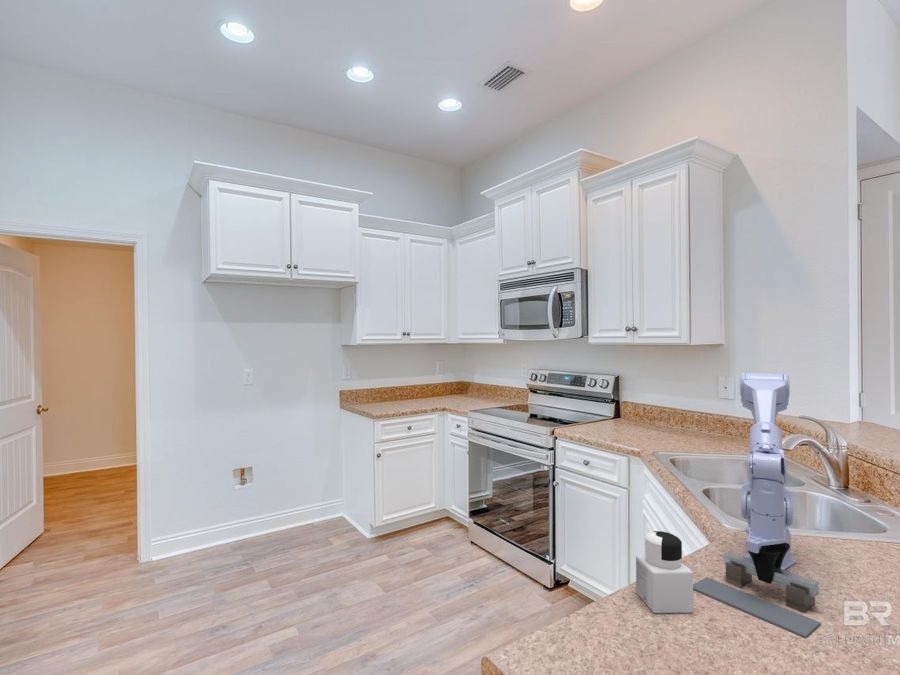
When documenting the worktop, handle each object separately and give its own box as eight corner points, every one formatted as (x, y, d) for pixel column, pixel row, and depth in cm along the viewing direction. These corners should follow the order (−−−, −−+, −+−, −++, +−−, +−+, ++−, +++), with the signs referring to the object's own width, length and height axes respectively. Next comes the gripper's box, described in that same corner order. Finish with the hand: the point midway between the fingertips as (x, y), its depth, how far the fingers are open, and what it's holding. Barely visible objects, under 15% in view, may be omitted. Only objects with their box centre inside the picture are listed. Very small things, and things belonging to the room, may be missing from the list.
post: (796, 598, 91) (796, 577, 92) (814, 604, 89) (814, 584, 89) (786, 605, 89) (786, 584, 89) (805, 613, 86) (804, 591, 86)
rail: (729, 561, 101) (728, 551, 101) (818, 593, 88) (818, 581, 88) (723, 564, 99) (723, 554, 99) (813, 597, 86) (813, 585, 86)
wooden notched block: (736, 575, 100) (736, 557, 101) (752, 581, 98) (751, 562, 98) (725, 581, 98) (725, 562, 98) (741, 588, 95) (740, 568, 95)
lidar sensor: (672, 591, 94) (672, 527, 94) (694, 613, 86) (693, 543, 86) (635, 592, 93) (635, 527, 94) (653, 614, 86) (653, 543, 86)
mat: (706, 578, 99) (706, 576, 99) (820, 624, 83) (820, 622, 83) (689, 588, 95) (689, 586, 95) (805, 638, 79) (805, 636, 79)
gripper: (760, 500, 101) (761, 562, 101) (729, 513, 93) (730, 581, 93) (798, 509, 95) (800, 575, 95) (768, 524, 87) (769, 596, 87)
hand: (768, 579), depth 93 cm, fingers closed on rail, 2 cm apart
